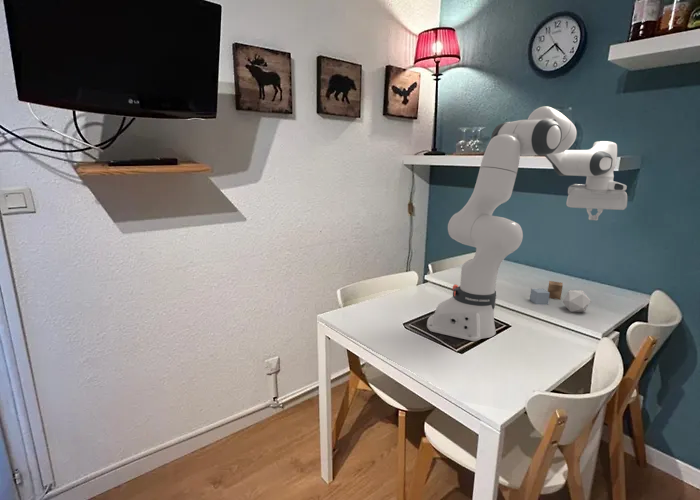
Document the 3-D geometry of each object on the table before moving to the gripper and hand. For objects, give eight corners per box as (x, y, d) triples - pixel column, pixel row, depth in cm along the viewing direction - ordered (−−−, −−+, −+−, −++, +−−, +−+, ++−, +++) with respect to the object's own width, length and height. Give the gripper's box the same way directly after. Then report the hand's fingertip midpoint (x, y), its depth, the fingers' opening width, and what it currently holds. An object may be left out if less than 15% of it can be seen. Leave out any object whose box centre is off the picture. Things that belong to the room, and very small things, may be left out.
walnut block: (547, 297, 163) (549, 284, 162) (547, 294, 168) (549, 280, 166) (560, 299, 161) (562, 286, 160) (560, 296, 166) (562, 282, 164)
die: (587, 318, 144) (599, 296, 145) (566, 305, 145) (578, 283, 146) (574, 317, 152) (585, 296, 154) (554, 305, 153) (566, 284, 154)
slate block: (535, 304, 156) (537, 292, 154) (529, 300, 160) (531, 288, 159) (548, 304, 156) (549, 292, 155) (541, 300, 161) (543, 288, 160)
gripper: (570, 184, 152) (565, 219, 155) (631, 186, 146) (625, 222, 149) (567, 183, 157) (562, 217, 161) (625, 185, 151) (619, 220, 155)
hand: (592, 220), depth 155 cm, fingers closed
